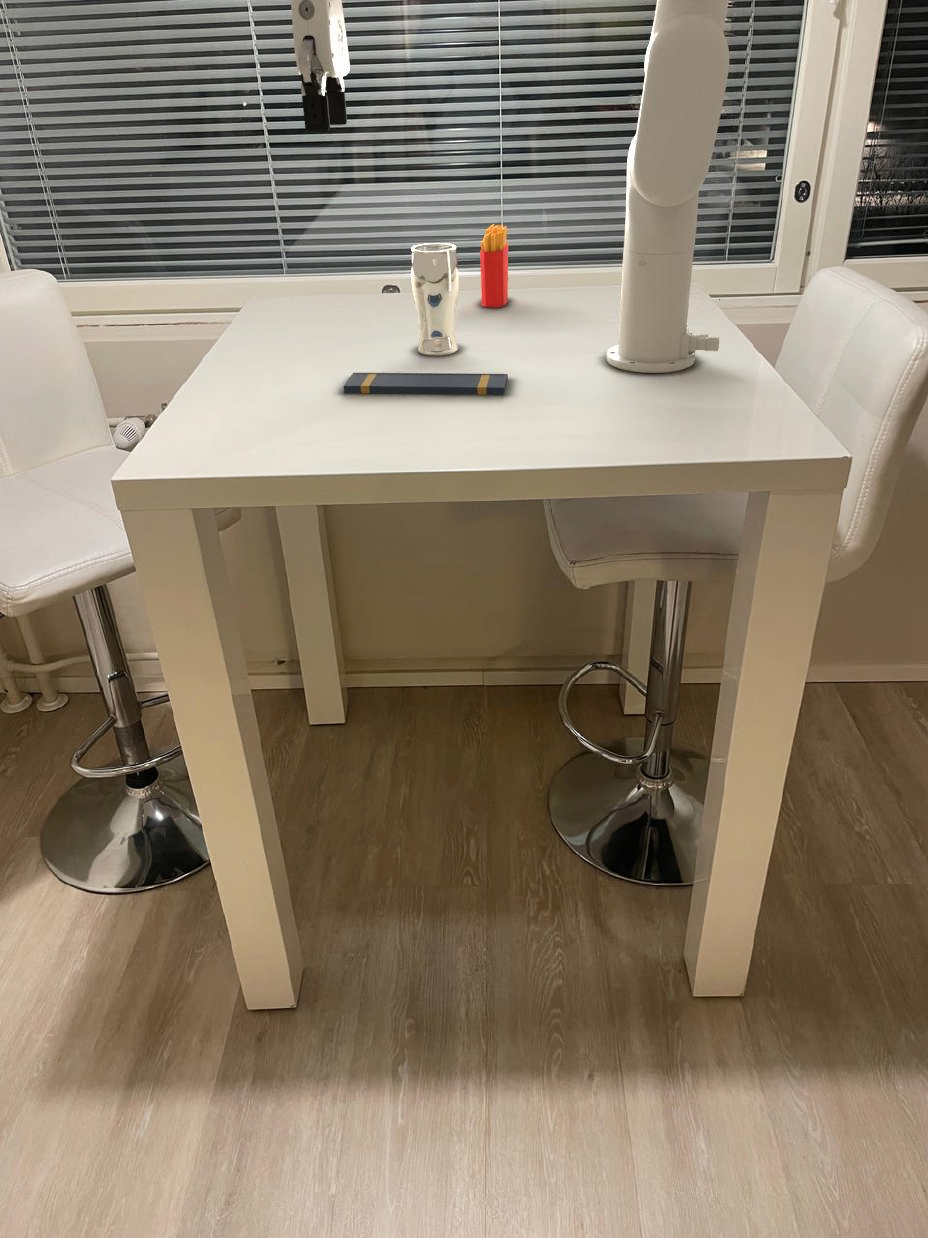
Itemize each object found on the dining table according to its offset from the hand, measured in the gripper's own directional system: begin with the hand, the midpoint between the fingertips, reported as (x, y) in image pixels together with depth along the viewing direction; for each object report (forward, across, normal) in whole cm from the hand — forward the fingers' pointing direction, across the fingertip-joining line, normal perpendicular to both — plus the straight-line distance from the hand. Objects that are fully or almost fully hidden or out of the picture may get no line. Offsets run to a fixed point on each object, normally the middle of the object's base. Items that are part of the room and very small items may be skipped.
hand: (327, 127), depth 127 cm
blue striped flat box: (+31, -13, -14) cm, 37 cm away
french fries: (+31, +35, -19) cm, 51 cm away
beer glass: (+31, +5, -13) cm, 34 cm away
